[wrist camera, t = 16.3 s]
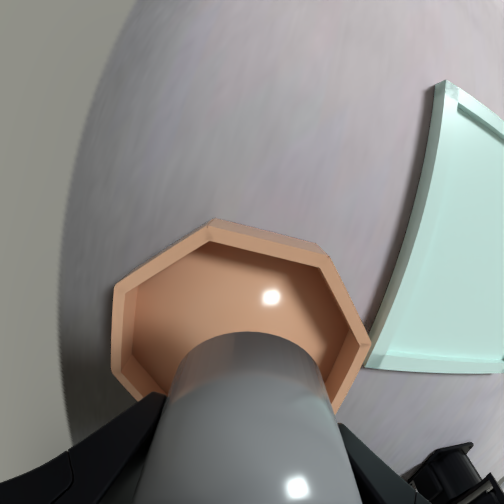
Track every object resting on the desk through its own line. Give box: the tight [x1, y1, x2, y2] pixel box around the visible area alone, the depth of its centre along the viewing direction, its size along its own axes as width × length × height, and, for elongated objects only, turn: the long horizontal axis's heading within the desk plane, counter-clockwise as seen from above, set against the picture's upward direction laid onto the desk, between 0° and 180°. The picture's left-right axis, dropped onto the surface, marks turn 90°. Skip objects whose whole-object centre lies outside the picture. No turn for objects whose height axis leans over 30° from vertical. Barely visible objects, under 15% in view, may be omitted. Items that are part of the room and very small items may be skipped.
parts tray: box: [363, 80, 504, 374], centre depth 14 cm, size 16×17×1 cm
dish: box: [111, 218, 371, 415], centre depth 15 cm, size 13×13×2 cm
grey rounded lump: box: [131, 331, 362, 504], centre depth 6 cm, size 5×5×5 cm
